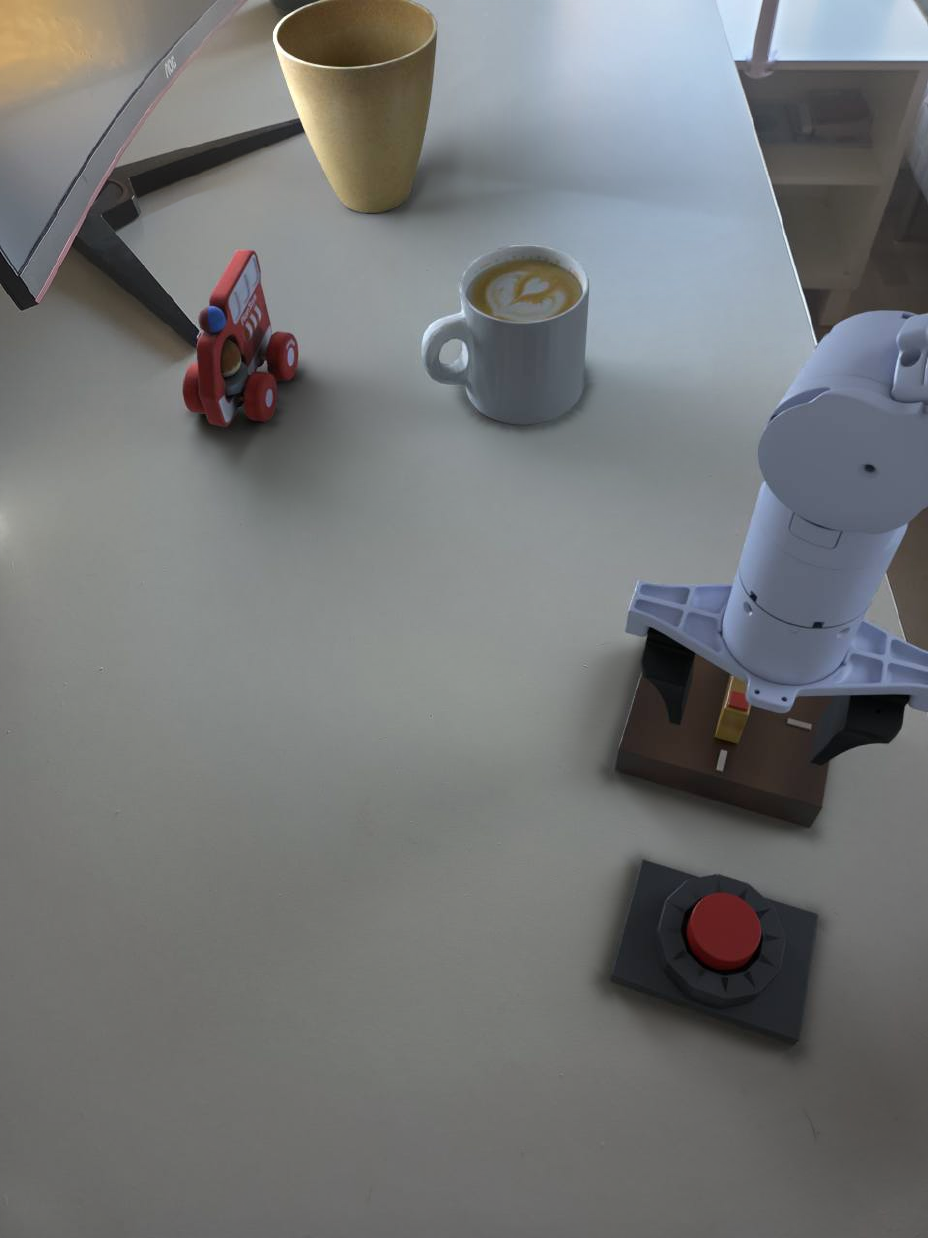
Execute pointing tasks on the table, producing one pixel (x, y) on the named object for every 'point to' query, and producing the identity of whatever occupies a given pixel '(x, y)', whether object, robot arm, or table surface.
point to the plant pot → (362, 92)
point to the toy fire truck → (238, 349)
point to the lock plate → (728, 749)
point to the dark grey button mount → (671, 972)
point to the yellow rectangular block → (733, 711)
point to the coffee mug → (517, 334)
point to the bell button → (723, 931)
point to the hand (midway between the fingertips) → (747, 728)
